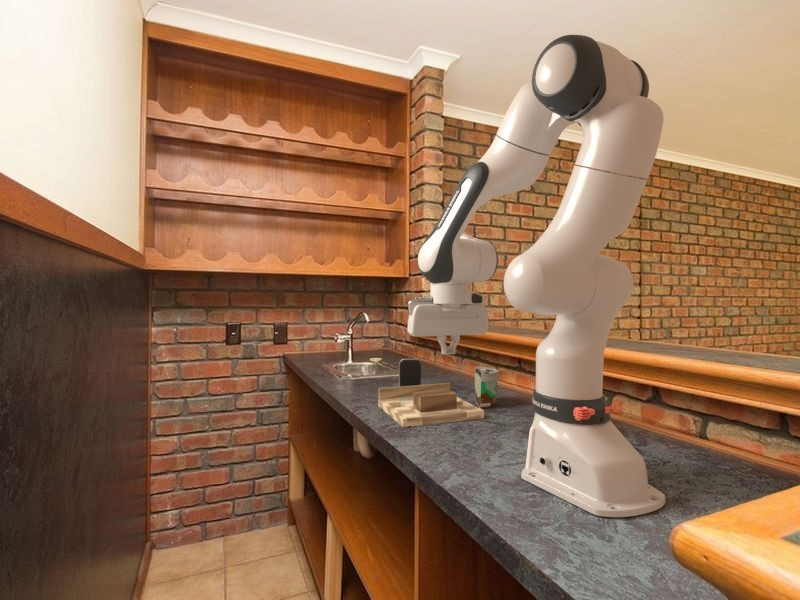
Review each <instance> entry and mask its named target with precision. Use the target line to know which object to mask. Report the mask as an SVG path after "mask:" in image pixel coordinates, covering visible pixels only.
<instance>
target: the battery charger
mask: <svg viewBox="0 0 800 600" xmlns="http://www.w3.org/2000/svg"><path fill="white" fill-rule="evenodd" d="M398 382H399V386H398V387H401V386H414V385H422V363H421V361H420V359H418V358H412V357H411V358H408V357H407V358H402V359H400V361H399V364H398Z"/></svg>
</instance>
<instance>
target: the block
mask: <svg viewBox="0 0 800 600" xmlns="http://www.w3.org/2000/svg"><path fill="white" fill-rule="evenodd" d="M457 397H458V393H456V392H455V391H453V390H451V389H450V390H448V389H446V390H434V391H422V392H413V408H415V409H416V410H418V411H419V412H421V413H423V412H433V411H442V410H452V409H457Z"/></svg>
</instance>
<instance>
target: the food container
mask: <svg viewBox="0 0 800 600" xmlns="http://www.w3.org/2000/svg"><path fill="white" fill-rule="evenodd" d="M473 370H474V372H473V373H474V402H475V401H476V402H475V404H477V407H478V406H479V407H478V408H480V409H482V410H489V408H490V409H493V408H495V407H496V400H497V399H496V398H497V386H498V381H499V380H500V373H499V371H498V369H497V368H493V367H489V366H488V367H486V366H474V369H473Z"/></svg>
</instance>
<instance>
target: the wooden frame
mask: <svg viewBox="0 0 800 600" xmlns="http://www.w3.org/2000/svg"><path fill="white" fill-rule="evenodd" d="M446 389H448V390H450V391H451V383H450V382H445V383H444V382H441V383H429V384H428V383H427V384H421V385H414V386H401V387H399V386H391V387H379V388H378V389H377V390H378V391H377V392H378V402H377V403H378V405H377V406H378V407H379V408H380V409H381V410H382V409H383V410H382V411H384V412H385V413H386V414H387V415H388V416H389V415H390V416H391V417H390V416H389V417H390V418H392V419H393V420H394V421H395V422H396V421H397V422H398V423H397V422H396V423H397V424H398V425H400V426H401V427H402V428H408V427H409V426H411V427H419V426H427V425H438V424H445V423H446V424H448V423H453V422H454V423H455V422H463V421H464V422H465V421H473V420H480V419H481V420H482V419H485V409H480V408H479V407H478V406H476V405H474V404H472V403H470V402H469V401H466V400H464V399H462V398H460V397H458V396H457V409H452V410H442V411H433V412H423V413H421V412H419V411H418V410H416V409H415V408H413V392H422V391H434V390H446ZM409 428H410V427H409Z"/></svg>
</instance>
